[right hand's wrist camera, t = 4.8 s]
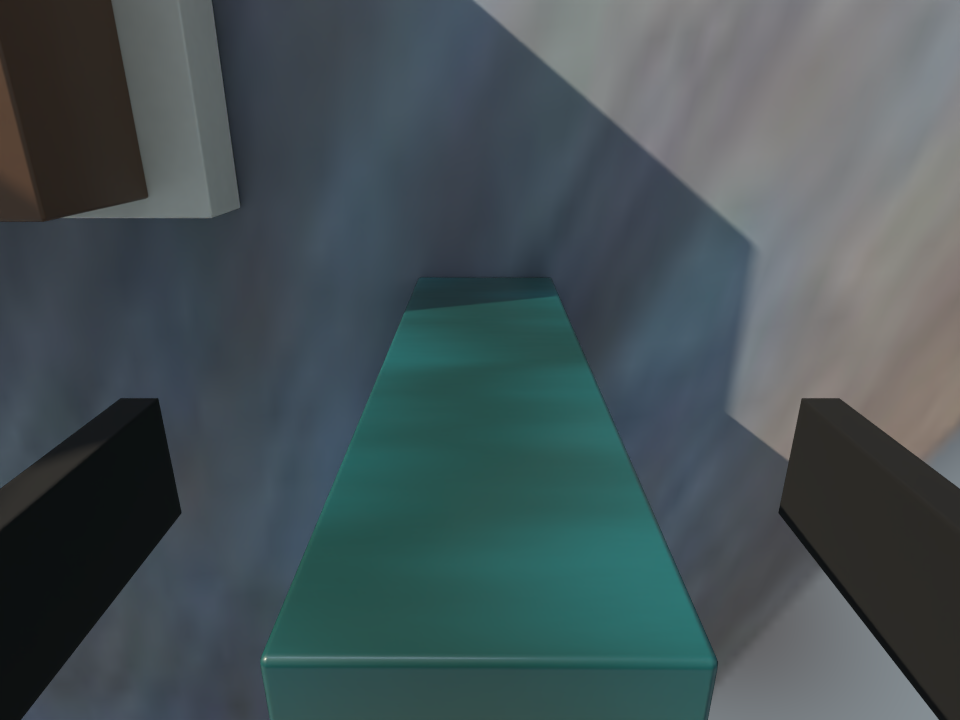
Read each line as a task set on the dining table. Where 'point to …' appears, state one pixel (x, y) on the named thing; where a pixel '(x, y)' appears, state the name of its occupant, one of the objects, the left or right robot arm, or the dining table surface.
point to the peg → (487, 539)
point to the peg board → (112, 111)
